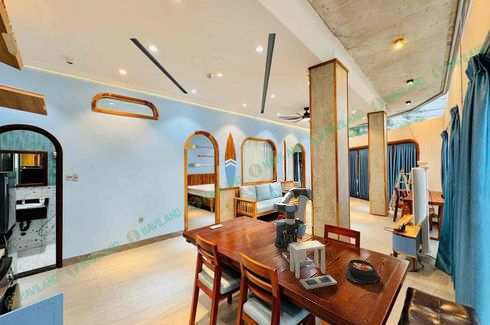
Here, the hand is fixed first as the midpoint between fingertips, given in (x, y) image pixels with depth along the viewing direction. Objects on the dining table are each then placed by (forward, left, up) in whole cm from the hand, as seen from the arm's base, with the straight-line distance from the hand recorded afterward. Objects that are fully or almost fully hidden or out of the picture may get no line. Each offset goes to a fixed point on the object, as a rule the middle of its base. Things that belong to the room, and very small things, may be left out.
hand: (290, 250), depth 165 cm
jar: (+14, 0, -4) cm, 15 cm away
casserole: (+41, +32, -4) cm, 52 cm away
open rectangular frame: (+32, 0, -4) cm, 32 cm away
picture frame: (+9, 0, -3) cm, 9 cm away
